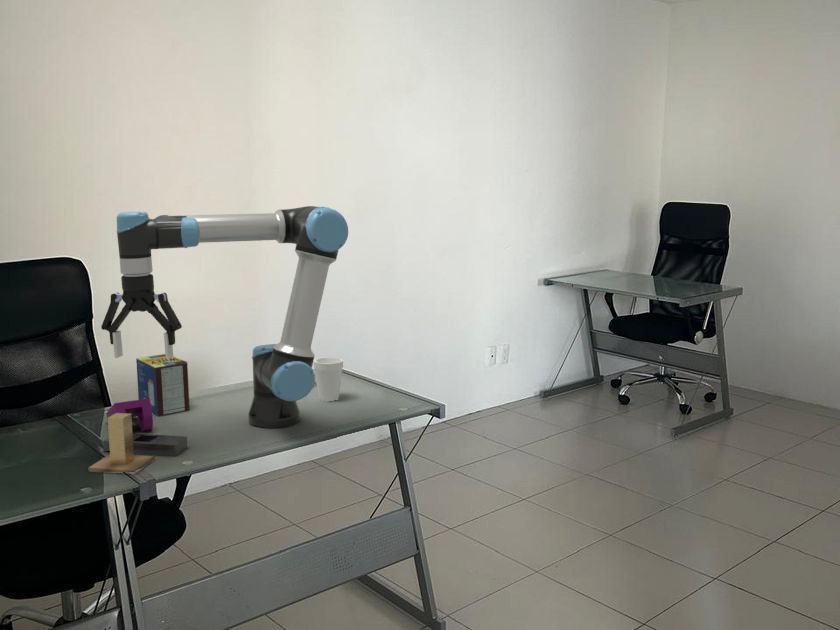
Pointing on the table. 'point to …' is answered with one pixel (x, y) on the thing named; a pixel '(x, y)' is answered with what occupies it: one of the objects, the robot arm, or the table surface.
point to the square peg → (120, 438)
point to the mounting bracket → (135, 412)
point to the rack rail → (155, 444)
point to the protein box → (163, 383)
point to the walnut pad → (134, 465)
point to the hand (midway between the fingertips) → (144, 357)
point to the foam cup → (328, 377)
